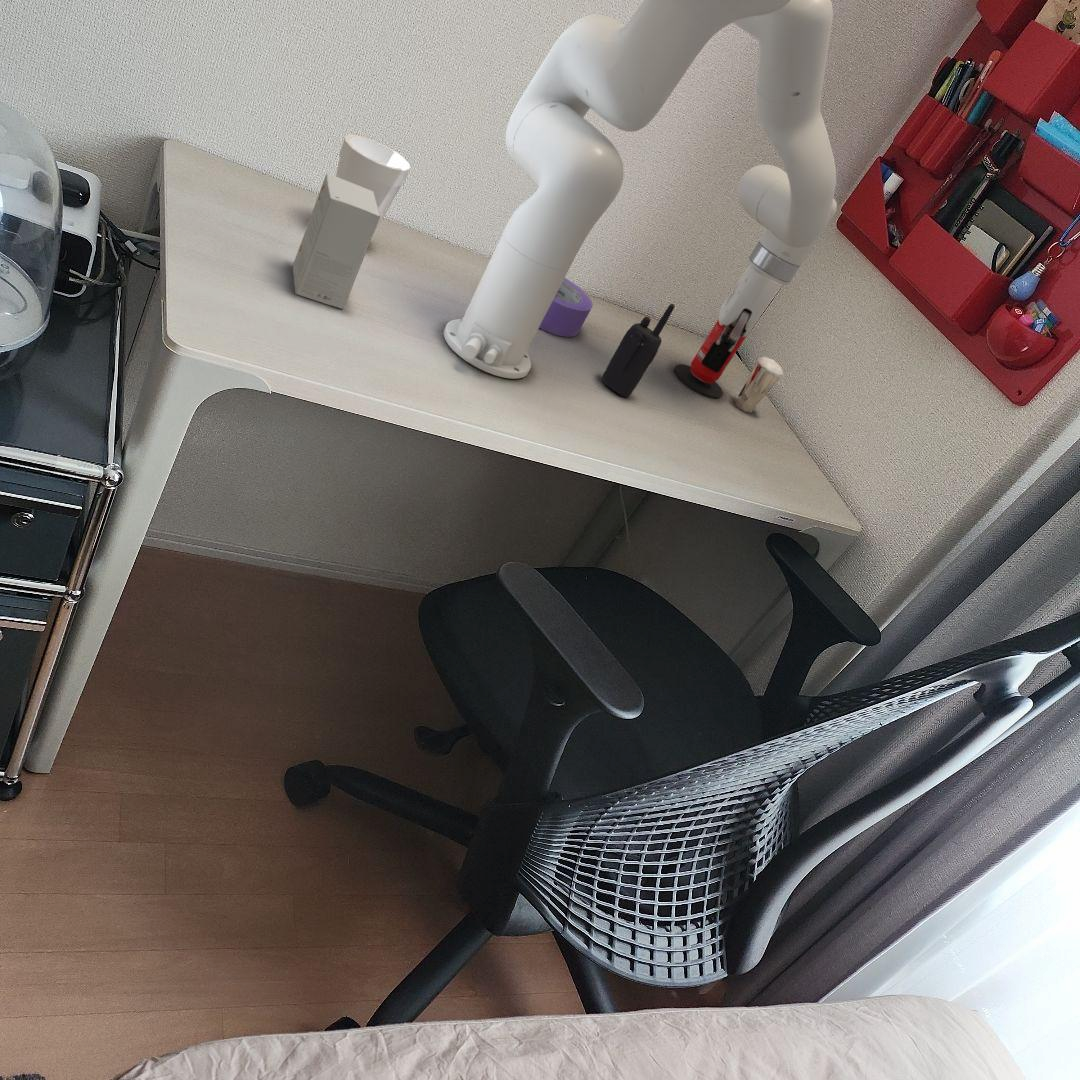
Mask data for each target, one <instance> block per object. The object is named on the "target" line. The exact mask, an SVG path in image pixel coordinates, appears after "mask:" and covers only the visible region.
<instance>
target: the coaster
mask: <svg viewBox="0 0 1080 1080" xmlns="http://www.w3.org/2000/svg"><path fill="white" fill-rule="evenodd" d="M690 368H691V365H687V364H682V363H678V364H676V365H675V366H674V368H673V372H674V374H675V376H676V377H677V378H678V379H679V380H680V382H682V383H683V384H684V385H685V386H687V387H688V388H689V389H691V390H692V391H694V392H696V393H698V394H699V395H702V396H704V397H707V398H711V399H714V400H715V399H720V398H722V396H723V395H724V393H723V390H722V388H721V386H720V385H719V384H718V383H717V382H716V381H715V382H713V384H708V383H705V382H703V381H701V380H699V379H698V378H696V377H695V376H694V375H693V374H692V373H691V372H690Z"/></svg>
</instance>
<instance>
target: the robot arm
mask: <svg viewBox="0 0 1080 1080" xmlns="http://www.w3.org/2000/svg"><path fill="white" fill-rule="evenodd" d="M833 20H834V7H833V2H832V0H643V1H642V2H641V4H640V5H639V7H638V8H637V9H636V11H635V12H634V13H633V15H632V16H631V17H630V19H629V20H628V22H627V23H626V24H625V25H624V24H623V23H621V22H620V21H618V20H617V19H615V18H613V17H611V16H608V15H605V14H599V13H595V14H594V13H593V14H588V15H585V16H583V17H580V18H578V19H577V20H575V21H574V22H572V23H571V24H570V25H569V26H568V27H566V28H565V29H564V30H563V32H561V34H560V35H559V36H558V37H557V39H556V40H555V42H554V43H553V45H552V47H551V48H550V50H549V51H548V52H547V54H546V56H545V57H544V59H543V61H542V62H541V64H540V66H539V67H538V69H537V70H536V72H535V74H534V75H533V77H532V79H531V81H530V82H529V84H528V85H527V87H526V88H525V90H524V91H523V93H522V95H521V96H520V98H519V100H518V102H517V104H516V105H515V107H514V109H513V111H512V113H511V115H510V118H509V119H508V121H507V125H506V130H505V137H504V139H505V147H506V150H507V153H508V155H509V157H510V158H511V160H512V161H513V162H514V163H515V165H516V166H517V167H518V168H519V169H520V170H521V171H522V172H523V173H524V174H526V176H527V177H528V178H529V179H530V180H531V181H532V182H533V183H534V184H535V185H536V186H537V189H536V191H534V193H532V194H531V195H530V196H529V197H528V198H527V199H526V200H524V201H523V202H522V203H521V204H519V206H517V208H516V209H515V210H514V211H513V212H512V214H511V216H510V217H509V219H508V221H507V223H506V225H505V226H504V229H503V231H502V234H501V235H500V238H499V240H498V242H497V245H496V247H495V249H494V251H493V253H492V255H491V258H490V259H489V262H488V264H487V266H486V268H485V270H484V272H483V274H482V277H481V279H480V281H479V283H478V285H477V287H476V290H475V292H474V294H473V295H472V298H471V300H470V302H469V304H468V305H467V309H466V311H465V313H464V315H463V317H462V318H456V319H452V320H449V321H448V323H446V325H445V328H444V329H443V338H444V340H445V342H446V343H447V345H448V346H449V348H450V349H451V350H452V351H453V352H454V353H455V354H456V355H458V356H459V357H460V358H461V359H462V360H464V361H465V362H467V364H470V365H471V366H473V367H474V368H477V369H479V370H481V371H483V372H485V373H488V374H490V375H493V376H496V377H499V378H503V379H511V380H512V379H513V380H515V379H517V380H518V379H522V378H525V377H526V376H528V374H529V372H530V371H531V368H532V361H531V358H530V356H529V355H528V353H527V351H528V349H529V347H530V345H531V344H532V342H533V339H535V336H536V334H537V332H538V330H539V329H540V328H539V326H540V324H541V322H542V320H543V318H544V317H545V315H546V313H547V311H548V309H549V307H550V305H551V303H552V301H553V299H554V297H555V295H556V293H557V292H558V290H559V288H560V286H561V284H562V282H563V280H564V278H566V276H567V275H568V272H569V271H570V269H571V266H572V264H573V263H574V260H575V259H576V256H577V255H578V253H579V251H580V249H581V248H582V245H583V244H584V242H585V241H586V239H587V237H588V235H589V234H590V232H591V231H592V229H594V226H595V225H596V224H597V222H598V221H599V220H600V218H601V217H602V216H603V215H604V213H606V211H607V210H608V209H609V207H610V206H611V204H612V203H613V202H614V201H615V199H616V197H617V196H618V194H619V192H620V191H621V188H622V186H623V181H624V173H625V172H624V165H623V159H622V157H621V155H620V153H619V151H618V149H617V147H615V145H614V143H612V141H611V140H610V139H609V138H608V137H607V136H606V135H604V133H603V132H601V131H600V130H599V129H597V128H596V127H595V126H594V125H593V124H591V123H590V121H588V120H587V119H586V118H584V117H585V116H586V114H587V113H588V112H589V110H592V111H593V112H594V113H595V114H597V115H598V116H599V117H600V118H602V120H604V121H605V122H607V123H608V124H610V125H611V126H613V127H614V128H616V129H618V130H620V131H623V132H626V133H627V132H628V133H629V132H630V133H632V132H638V131H640V130H642V129H644V128H645V127H646V126H647V125H649V124H650V123H651V121H652V120H653V119H654V118H655V117H656V116H657V114H659V112H660V110H661V109H662V108H663V106H664V105H665V103H666V102H667V100H668V99H669V98H670V96H671V95H672V93H673V91H674V90H675V89H676V87H677V86H678V84H679V83H680V81H681V80H682V78H683V77H684V75H685V74H686V73H687V71H688V69H689V67H690V66H691V65H692V63H693V62H694V60H696V58H697V57H698V55H699V54H700V53H701V51H702V50H703V48H704V47H705V46H706V44H707V43H708V42H709V41H710V40H711V39H712V38H713V37H714V36H715V35H716V34H718V33H719V32H720V31H721V30H723V29H724V28H726V27H728V26H730V25H731V24H734V25H735V26H736V27H738V28H740V29H741V30H743V31H744V32H745V33H747V34H749V35H750V36H752V37H753V38H755V39H756V40H757V41H758V44H759V48H758V49H759V50H758V63H757V65H758V66H757V75H756V85H755V96H754V112H755V116H756V119H757V120H758V123H759V125H760V127H761V129H762V130H763V132H764V134H765V136H766V138H767V139H768V141H769V142H770V144H771V145H772V147H773V148H774V150H775V151H776V153H777V155H778V157H779V159H780V160H781V162H782V165H783V166H784V170H785V171H784V170H783V169H781V168H780V167H778V166H775V165H773V164H758V165H755V166H752V167H751V168H749V169H748V170H747V171H746V172H745V173H744V174H743V175H742V177H741V178H740V180H739V182H738V184H737V188H736V196H737V200H738V203H739V205H740V207H741V209H742V210H744V212H745V213H746V214H747V215H748V216H749V217H751V218H752V219H753V220H754V221H756V222H757V223H758V224H759V225H761V226H763V227H764V228H765V229H764V231H763V232H762V234H761V235H760V237H759V239H758V240H757V242H756V244H755V245H754V247H752V249H751V251H750V254H749V255H748V257H747V258H746V262H747V263H748V264H749V265H748V267H747V268H746V269H745V271H744V272H743V274H742V275H741V277H739V279H738V281H737V282H736V283H735V286H734V287H733V288H732V289H731V291H730V293H729V294H728V296H727V297H726V299H725V300H724V301H723V303H722V305H721V306H720V308H719V314H718V319H719V324H720V325H721V326H722V325H723V324H724V325H725V327H724V329H723V331H722V333H721V335H720V336H719V338H718V340H717V341H716V342H714V343H713V344H712V346H711V347H710V349H709V351H708V352H707V354H706V355H705V357H704V359H703V360H702V365H704V366H706V367H707V368H709V369H711V370H713V371H714V372H716V373H718V372H719V371H720V370H721V368H722V367H723V365H724V364H725V362H726V360H727V359H728V357H729V356H730V354H731V353H732V350H733V348H734V347H735V345H736V343H737V341H738V340H739V338H740V337H746V338H747V336H748V335H749V333H750V332H751V331H752V330H753V328H754V326H755V325H756V324H757V322H758V321H759V319H760V317H761V316H762V315H763V313H764V311H765V310H766V308H767V306H768V305H769V304H770V301H771V300H772V298H774V296H775V294H776V292H777V290H778V289H779V287H780V285H783V286H789V284H790V283H791V282H792V280H793V278H794V277H795V275H796V274H797V273H798V271H799V270H800V268H801V266H802V265H803V263H804V261H805V260H806V259H807V257H808V255H809V254H810V252H812V250H813V248H814V247H815V245H816V243H817V242H818V240H819V239H820V237H821V236H822V234H823V233H824V231H825V229H826V228H827V227H828V226H829V224H830V222H831V221H832V219H833V218H834V215H835V214H836V212H837V210H838V204H837V201H836V199H835V198H834V197H835V193H836V185H837V169H836V162H835V157H834V152H833V149H832V145H831V141H830V137H829V133H828V130H827V127H826V124H825V121H824V118H823V115H822V111H821V105H822V103H821V102H822V97H823V96H822V95H823V89H824V82H825V75H826V68H827V61H828V55H829V47H830V42H831V35H832V28H833ZM739 315H740V316H739ZM730 324H731V325H733V326H734V327H733V329H730V328H729V325H730ZM744 329H745V330H746V331H744ZM727 332H729V333H730V334H729V335H728V334H727V335H726V336H725V334H726V333H727Z"/></svg>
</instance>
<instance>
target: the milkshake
mask: <svg viewBox="0 0 1080 1080" xmlns="http://www.w3.org/2000/svg"><path fill="white" fill-rule="evenodd" d="M792 368H794V365H792V366H790V367H789V368H787V369H786V370H784V371H783V369H782V366H781V365H780V364H779V363H778V362H777V361H776V360H774V359H773V358H769V357H768V356H762V357H760V358H758V359H757V361H756V363H755V365H754V366H753V369H752V370H751V372H750V374H749V376H748V378H747V380H746V381H745V383H744V385H743V387H742V389H741V390H740V392H739V393H738V395H737V397H736V399H735V401H734V405H735V406H736V407H737V408H738V409H739V410H740V411H743V413H746V414H747V413H748V414H751V413H752V412H753V411H754V410H755V408H756V407H757V406H758V405H759V404H760V403H761V401H762V400H763V398H764V397H765V396H766V395H767V393H768V392H769V391H770V390H771V389H772V388H773V386H775V384H776V383H777V382H778V381H779V380H780V378H781V377H782V376H783V374H785V373H787V372H788V371H790V370H791V369H792Z"/></svg>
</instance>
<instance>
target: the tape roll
mask: <svg viewBox="0 0 1080 1080" xmlns="http://www.w3.org/2000/svg"><path fill="white" fill-rule="evenodd" d="M593 306H594V305H593V301H592V299H591V298H590V296H589V295H588V294H587V293H586V292H585V291H584V290H583V289H582V288H581V287H579V285H577V284H576V283H574V282H572V281H571V280H570V279H568V278H566V277H565V278H564V280H563V282H562V284H561V286H560V288H559V290H558V292H557V293H556V295H555V297H554V299H553V301H552V303H551V305H550V307H549V309H548V311H547V313H546V315H545V317H544V318H543V320H542V322H541V324H540V326H539V328H538V329H541V330H542V331H545V332H547V333H549V334H552V335H555V336H559V337H564V338H573V337H576V336H577V335H578V334H579V333H580V331H581V329H582V327H583V325H584V323H585V322H586V320H587V318H588V316H589V314H590V312H591V311H592V309H593Z"/></svg>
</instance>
